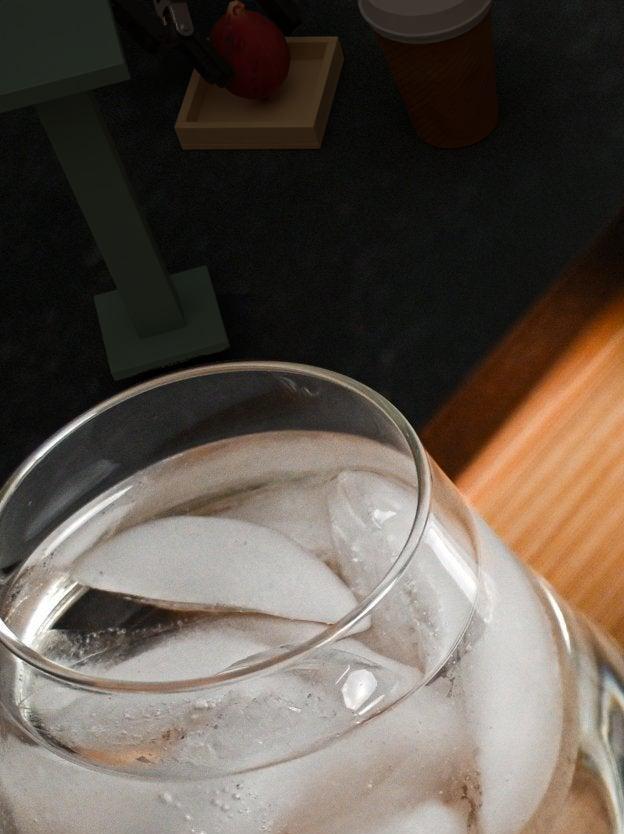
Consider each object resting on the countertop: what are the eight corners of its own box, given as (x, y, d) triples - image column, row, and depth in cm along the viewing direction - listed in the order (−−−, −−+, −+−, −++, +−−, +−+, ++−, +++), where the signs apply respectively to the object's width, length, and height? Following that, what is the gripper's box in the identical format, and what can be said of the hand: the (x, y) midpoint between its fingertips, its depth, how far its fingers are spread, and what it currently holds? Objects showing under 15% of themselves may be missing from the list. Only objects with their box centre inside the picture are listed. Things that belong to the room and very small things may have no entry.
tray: (320, 149, 142) (313, 126, 141) (182, 150, 143) (173, 127, 141) (344, 58, 148) (338, 36, 146) (211, 60, 148) (203, 37, 147)
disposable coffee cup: (372, 152, 142) (331, 9, 132) (422, 71, 147) (386, -74, 136) (492, 173, 140) (460, 29, 130) (539, 90, 145) (511, -56, 135)
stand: (108, 388, 130) (-32, 102, 111) (88, 301, 135) (-49, 12, 115) (239, 351, 131) (124, 62, 112) (215, 266, 136) (100, -26, 117)
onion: (277, 130, 143) (246, 36, 136) (210, 114, 144) (176, 20, 137) (315, 81, 146) (286, -13, 139) (249, 66, 147) (217, -28, 140)
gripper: (28, -118, 129) (208, 92, 135) (181, -223, 135) (347, -17, 141) (5, -70, 135) (179, 128, 141) (152, -172, 141) (312, 22, 147)
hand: (262, 55), depth 141 cm, fingers open, 6 cm apart
